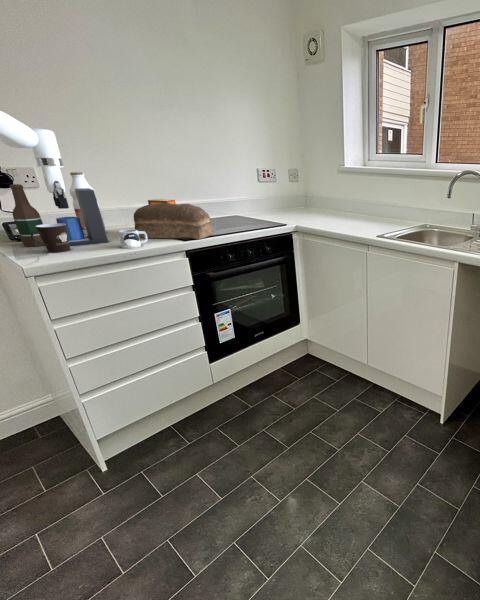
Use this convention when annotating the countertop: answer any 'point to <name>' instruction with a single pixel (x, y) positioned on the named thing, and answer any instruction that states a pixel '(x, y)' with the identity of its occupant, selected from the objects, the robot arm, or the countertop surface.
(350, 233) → the countertop surface
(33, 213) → the beer bottle
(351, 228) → the countertop surface
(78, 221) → the blue cup
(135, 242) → the mug
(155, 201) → the baking soda box
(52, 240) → the coffee mug
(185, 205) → the bread
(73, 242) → the dark grey upright panel
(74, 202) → the fruit juice
